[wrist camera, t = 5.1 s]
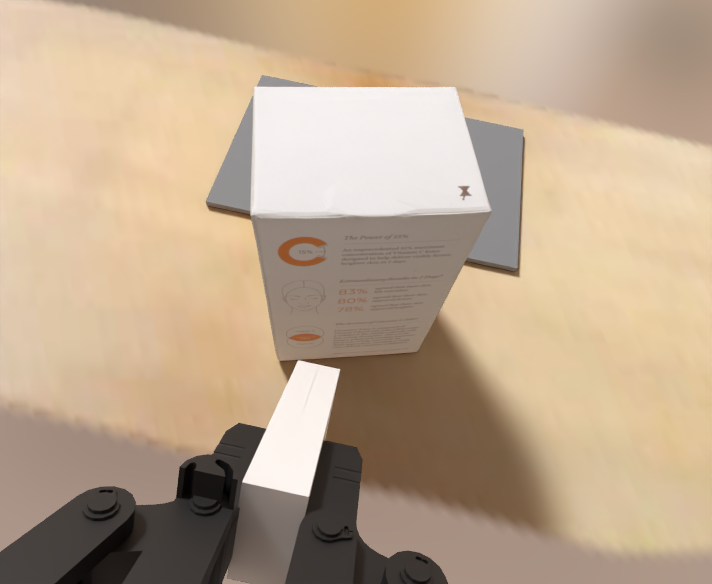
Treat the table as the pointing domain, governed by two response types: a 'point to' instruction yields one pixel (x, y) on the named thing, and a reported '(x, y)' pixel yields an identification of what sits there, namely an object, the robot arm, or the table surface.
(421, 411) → the table surface
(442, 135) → the small box
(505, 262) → the mat
